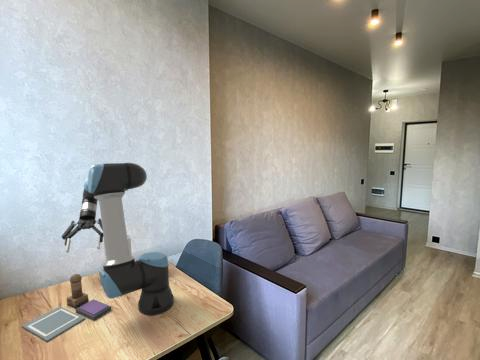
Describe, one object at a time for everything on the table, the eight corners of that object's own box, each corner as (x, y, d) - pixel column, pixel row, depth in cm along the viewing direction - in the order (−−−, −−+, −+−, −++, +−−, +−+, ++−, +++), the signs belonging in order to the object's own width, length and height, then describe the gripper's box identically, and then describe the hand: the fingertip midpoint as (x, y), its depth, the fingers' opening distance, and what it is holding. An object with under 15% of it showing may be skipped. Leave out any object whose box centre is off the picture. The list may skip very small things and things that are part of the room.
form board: (85, 319, 106) (85, 317, 106) (47, 342, 94) (47, 340, 94) (59, 307, 114) (59, 306, 114) (21, 327, 102) (21, 325, 102)
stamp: (88, 301, 119) (86, 273, 117) (75, 308, 113) (72, 279, 112) (80, 298, 121) (78, 270, 120) (67, 305, 116) (64, 276, 114)
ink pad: (111, 309, 112) (110, 305, 112) (93, 320, 105) (93, 316, 105) (93, 302, 118) (93, 298, 118) (75, 312, 111) (75, 308, 110)
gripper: (114, 214, 147) (112, 249, 134) (63, 218, 139) (56, 256, 127) (112, 207, 141) (109, 243, 129) (59, 211, 133) (50, 249, 121)
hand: (82, 249), depth 128 cm, fingers open, 13 cm apart
